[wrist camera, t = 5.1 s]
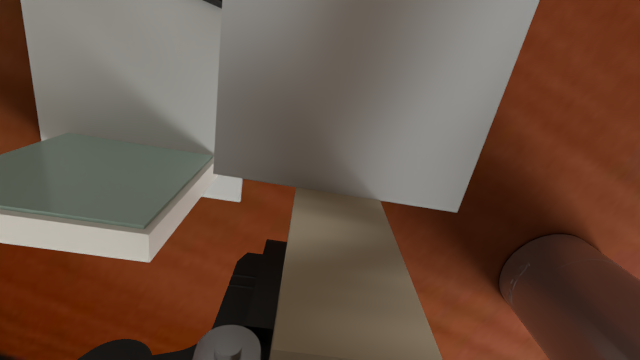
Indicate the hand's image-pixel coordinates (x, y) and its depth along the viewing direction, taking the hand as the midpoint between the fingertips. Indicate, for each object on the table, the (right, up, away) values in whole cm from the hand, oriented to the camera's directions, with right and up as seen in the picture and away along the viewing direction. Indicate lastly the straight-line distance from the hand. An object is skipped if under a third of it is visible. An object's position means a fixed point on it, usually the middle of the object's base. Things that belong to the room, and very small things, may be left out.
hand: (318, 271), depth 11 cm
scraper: (+1, +3, -1) cm, 3 cm away
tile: (-14, +5, +16) cm, 22 cm away
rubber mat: (-13, +11, +14) cm, 22 cm away
